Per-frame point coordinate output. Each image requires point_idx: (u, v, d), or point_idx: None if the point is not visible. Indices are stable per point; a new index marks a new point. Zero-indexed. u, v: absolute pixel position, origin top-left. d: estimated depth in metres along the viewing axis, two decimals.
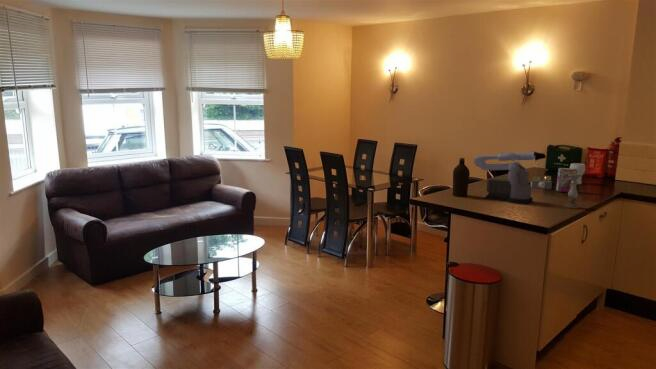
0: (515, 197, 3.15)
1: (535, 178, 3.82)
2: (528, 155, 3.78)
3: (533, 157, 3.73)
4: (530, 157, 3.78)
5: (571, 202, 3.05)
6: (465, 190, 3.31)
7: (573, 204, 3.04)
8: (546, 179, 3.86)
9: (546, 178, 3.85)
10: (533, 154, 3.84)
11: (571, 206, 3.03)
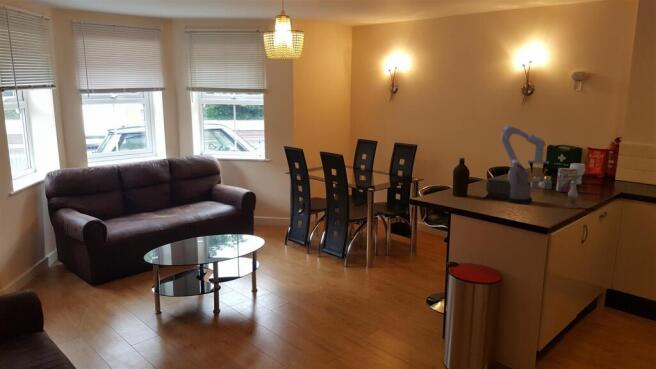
0: (514, 197, 3.15)
1: (535, 178, 3.82)
2: None
3: (548, 162, 3.79)
4: (542, 159, 3.80)
5: (571, 202, 3.05)
6: (465, 190, 3.31)
7: (573, 204, 3.04)
8: (546, 179, 3.86)
9: (546, 178, 3.85)
10: None
11: (571, 206, 3.03)
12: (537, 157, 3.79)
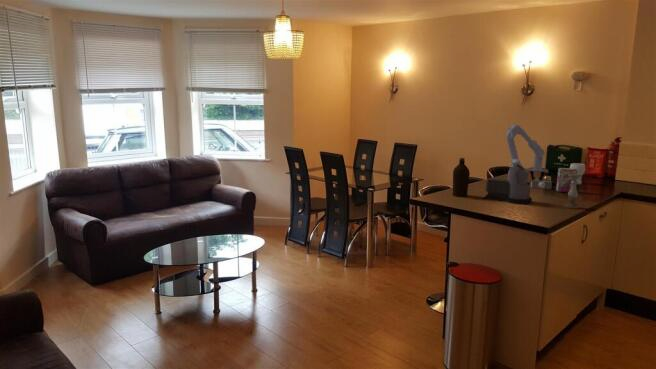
0: (514, 197, 3.15)
1: (535, 178, 3.82)
2: None
3: (547, 171, 3.81)
4: (541, 168, 3.81)
5: (571, 202, 3.05)
6: (465, 190, 3.31)
7: (573, 204, 3.04)
8: (546, 179, 3.86)
9: (546, 178, 3.85)
10: None
11: (571, 206, 3.03)
12: (536, 166, 3.80)
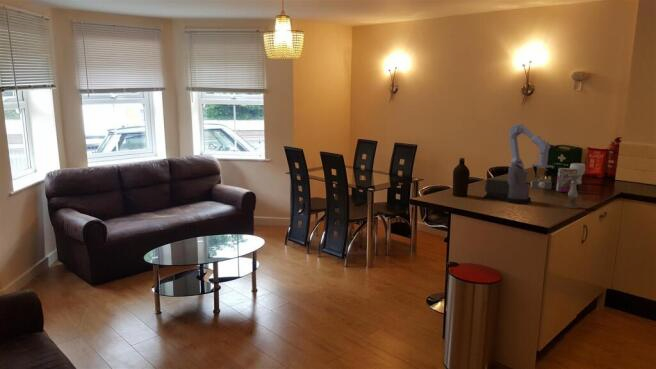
0: (513, 197, 3.15)
1: (540, 177, 3.68)
2: None
3: (553, 166, 3.65)
4: (546, 163, 3.66)
5: (571, 202, 3.05)
6: (465, 190, 3.31)
7: (573, 204, 3.04)
8: (546, 179, 3.86)
9: (546, 178, 3.85)
10: None
11: (571, 206, 3.03)
12: (541, 161, 3.65)
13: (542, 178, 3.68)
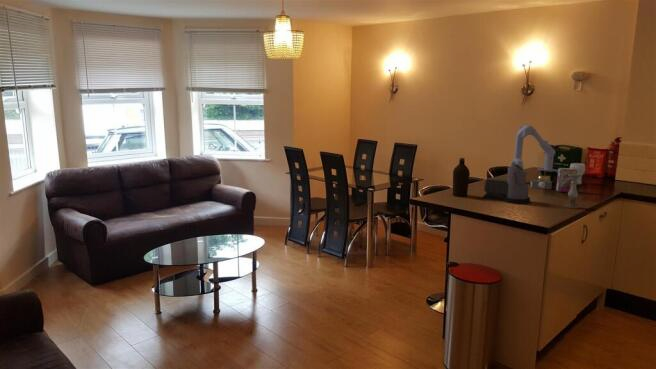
0: (512, 197, 3.15)
1: (540, 177, 3.68)
2: None
3: None
4: None
5: (571, 202, 3.05)
6: (465, 190, 3.31)
7: (573, 204, 3.04)
8: (546, 179, 3.86)
9: (546, 178, 3.85)
10: (540, 170, 3.89)
11: (571, 206, 3.03)
12: (547, 165, 3.83)
13: (542, 178, 3.68)
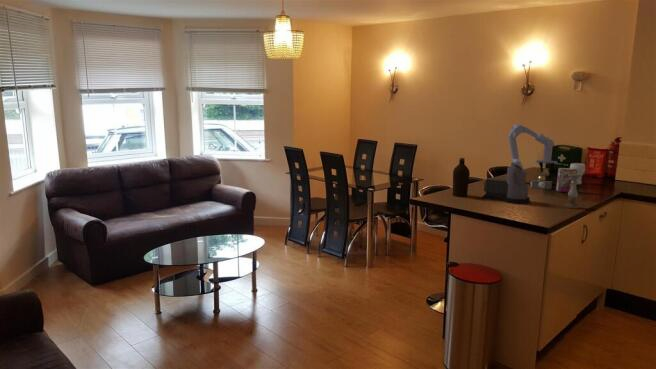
0: (512, 197, 3.15)
1: (540, 177, 3.68)
2: None
3: None
4: (550, 159, 3.80)
5: (571, 202, 3.05)
6: (465, 190, 3.31)
7: (573, 204, 3.04)
8: (544, 171, 3.81)
9: (544, 170, 3.81)
10: None
11: (571, 206, 3.03)
12: (546, 157, 3.79)
13: (542, 178, 3.68)
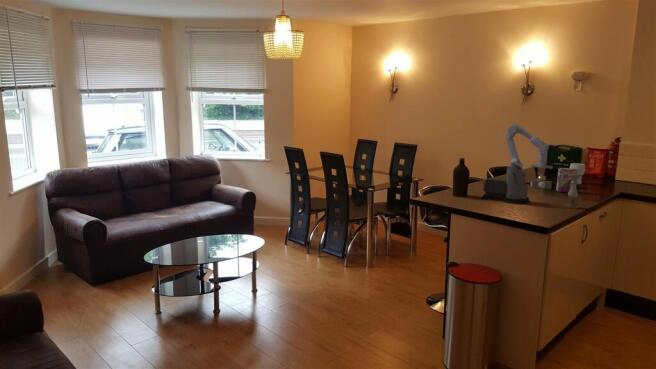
0: (511, 197, 3.15)
1: (540, 177, 3.68)
2: None
3: None
4: None
5: (571, 202, 3.05)
6: (465, 190, 3.31)
7: (573, 204, 3.04)
8: None
9: None
10: None
11: (571, 206, 3.03)
12: (540, 162, 3.71)
13: (542, 178, 3.68)
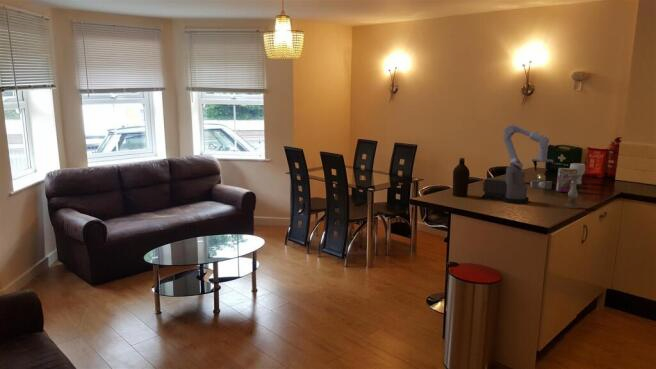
0: (510, 197, 3.15)
1: (540, 177, 3.68)
2: None
3: None
4: (546, 158, 3.71)
5: (571, 202, 3.05)
6: (465, 190, 3.31)
7: (573, 204, 3.04)
8: None
9: None
10: None
11: (571, 206, 3.03)
12: (541, 155, 3.70)
13: (542, 178, 3.68)
